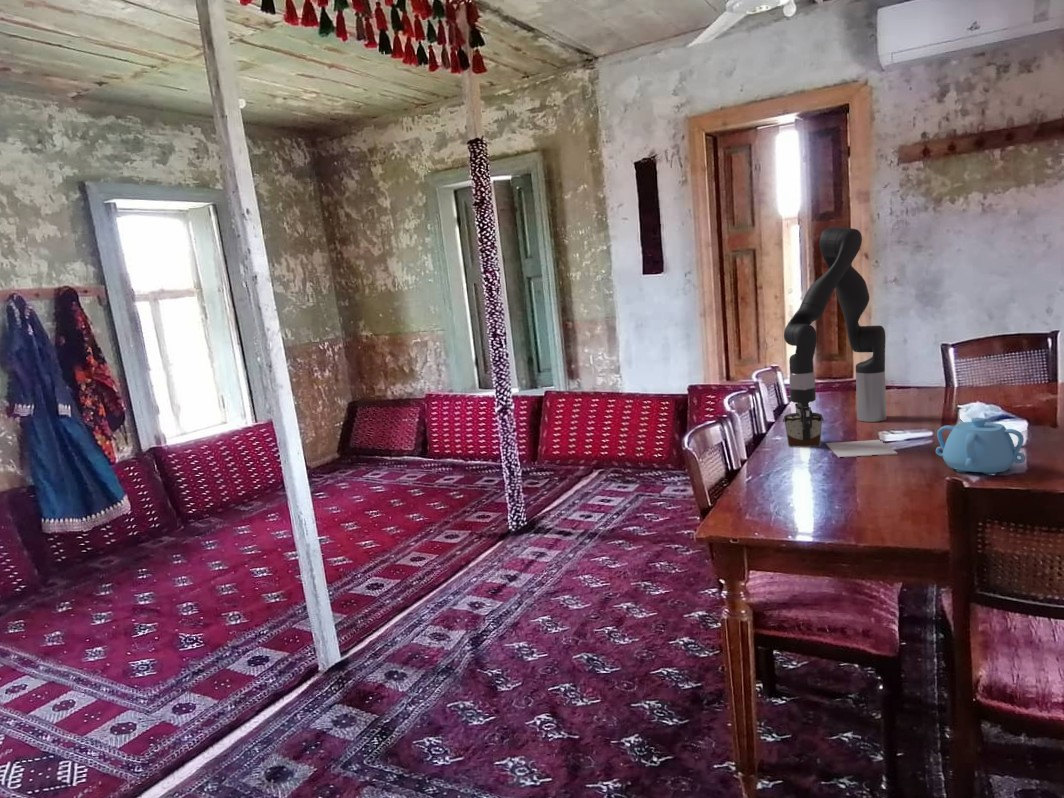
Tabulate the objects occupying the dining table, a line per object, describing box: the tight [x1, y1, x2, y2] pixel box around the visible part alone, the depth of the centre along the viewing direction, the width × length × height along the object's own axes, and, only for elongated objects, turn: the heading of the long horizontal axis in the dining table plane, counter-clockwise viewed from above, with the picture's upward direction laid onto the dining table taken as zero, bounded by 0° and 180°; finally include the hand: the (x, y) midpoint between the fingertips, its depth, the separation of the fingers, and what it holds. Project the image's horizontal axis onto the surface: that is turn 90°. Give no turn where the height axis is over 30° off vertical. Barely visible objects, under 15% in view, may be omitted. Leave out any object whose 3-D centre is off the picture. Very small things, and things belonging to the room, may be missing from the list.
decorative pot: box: [935, 417, 1026, 476], centre depth 176 cm, size 16×16×14 cm
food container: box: [782, 412, 825, 447], centre depth 218 cm, size 12×6×10 cm, turn 65°
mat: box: [825, 439, 898, 459], centre depth 206 cm, size 16×16×1 cm
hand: (804, 437), depth 218 cm, fingers closed on food container, 5 cm apart
